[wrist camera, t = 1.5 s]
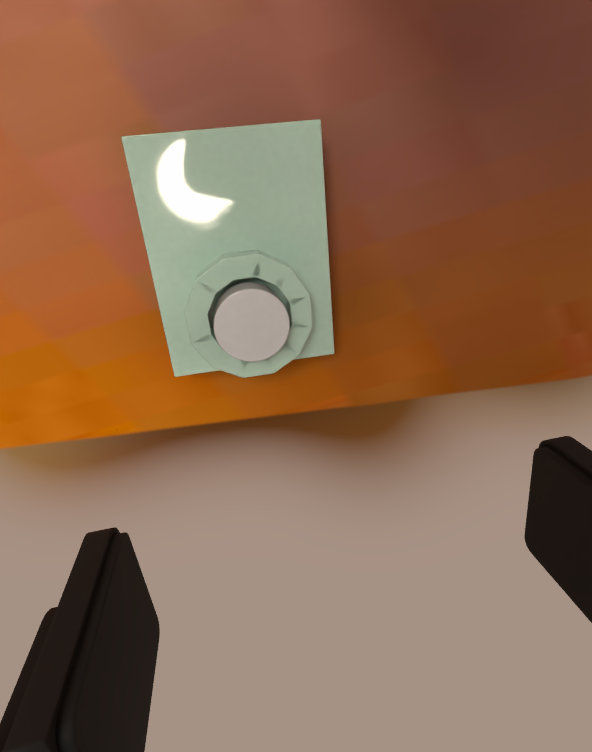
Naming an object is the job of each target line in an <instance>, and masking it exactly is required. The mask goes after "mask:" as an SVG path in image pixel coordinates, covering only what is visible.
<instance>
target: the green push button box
mask: <svg viewBox="0 0 592 752" xmlns="http://www.w3.org/2000/svg"><path fill="white" fill-rule="evenodd" d="M121 139H122V143H123V148H124V152H125V157H126V161H127V166H128V170H129V174H130V179H131V183H132V188H133V192H134V197H135V201H136V206H137V210H138V215H139V219H140V224H141V228H142V233H143V237H144V242H145V246H146V251H147V255H148V259H149V264H150V268H151V273H152V277H153V282H154V286H155V291H156V295H157V300H158V304H159V309H160V313H161V318H162V322H163V327H164V331H165V336H166V340H167V345H168V349H169V353H170V358H171V362H172V367H173V371H174V376H175V377H177V376H184V375H191V374H198V373H205V372H212V371H219V370H221V371H224V372H227V373H230V374H233V375H236V376H239V377H243V378H246V377H252V376H259V375H266V374H273V373H275V372H277V371H278V370H279V369H281V368H282V367H283V366H285V365H286V364H288V363H289V362H290V361H292V360H295V359H302V358H309V357H316V356H322V355H329V354H334V338H333V320H332V303H331V286H330V269H329V252H328V235H327V218H326V201H325V184H324V167H323V150H322V132H321V120H320V119H316V120H304V121H293V122H281V123H270V124H258V125H247V126H235V127H224V128H212V129H201V130H189V131H178V132H166V133H155V134H143V135H132V136H122V137H121ZM245 282H254V283H260V284H263V285H265V286H267V287H269V288H270V289H272V290H273V291H274V292H275V293H276V294H277V295H278V296H279V297H280V299H281V300H282V302H283V304H284V306H285V308H286V310H287V312H288V316H289V321H290V328H289V334H288V337H287V340H286V342H285V343H284V345H283V346H282V348H281V349H280V350H279V351H278V352H277V353H275V354H274V355H272V356H271V357H269V358H267V359H264V360H261V361H255V362H247V361H242V360H238V359H236V358H234V357H232V356H230V355H229V354H227V353H226V352H225V351H224V350H223V349H222V348H221V346H220V345H219V343H218V342H217V339H216V337H215V333H214V311H215V307H216V304H217V302H218V300H219V298H220V297H221V296H222V295H223V293H224V292H226V291H227V290H228V289H229V288H231V287H233V286H235V285H237V284H240V283H245Z"/></svg>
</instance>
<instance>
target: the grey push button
mask: <svg viewBox="0 0 592 752" xmlns="http://www.w3.org/2000/svg"><path fill="white" fill-rule="evenodd" d="M289 328H290V321H289V316H288V312H287V310H286V308H285V306H284V304H283V302H282V300H281V299H280V297H279V296H278V295H277V294H276V293H275V292H274V291H273V290H272V289H270V288H269V287H267V286H265V285H263V284H260V283H254V282H245V283H240V284H237V285H235V286H233V287H231V288H229V289H228V290H227V291H226V292H224V293H223V295H222V296H221V297H220V298H219V300H218V302H217V304H216V307H215V311H214V333H215V337H216V339H217V342H218V343H219V345H220V346H221V348H222V349H223V350H224V351H225V352H226V353H227V354H229V355H230V356H232V357H234V358H236V359H238V360H242V361H247V362H255V361H261V360H264V359H267V358H269V357H271V356H272V355H274V354H275V353H277V352H278V351H279V350H280V349H281V348H282V346H283V345H284V343H285V342H286V340H287V337H288V334H289Z"/></svg>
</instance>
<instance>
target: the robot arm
mask: <svg viewBox="0 0 592 752" xmlns="http://www.w3.org/2000/svg"><path fill="white" fill-rule="evenodd" d="M525 542H526V545H527V547H528V549H529V550H530V552H531V553H532V554H533V555H534V557H535V558H536V559H537V560H538V561H539V562H540V564H541V565H542V566H543V567H544V568H545V569H546V570H547V572H548V573H549V574H550V575H551V576H552V577H553V579H554V580H555V581H556V582H557V583H558V584H559V586H560V587H561V588H562V589H563V590H564V591H565V592H566V594H567V595H568V596H569V597H570V598H571V599H572V601H573V602H574V603H575V604H576V605H577V606H578V608H580V610H581V611H582V612H583V613H584V615H585V616H586V617H587V618H588V619H589V620H590V621H591V622H592V451H591V450H589V449H588V448H586V447H585V446H584V445H582V444H581V443H579V442H578V441H576V440H575V439H574V438H572V437H570V436H564V437H559V438H554V439H549V440H544V441H542V442H541V443H540V445H539V448H538V449H536V450H535V451H534V456H533V465H532V475H531V483H530V492H529V501H528V510H527V519H526V528H525ZM158 643H159V621H158V617H157V614H156V612H155V609H154V606H153V603H152V600H151V597H150V595H149V592H148V589H147V586H146V583H145V580H144V577H143V575H142V572H141V569H140V566H139V563H138V560H137V558H136V555H135V552H134V549H133V546H132V543H131V541H130V538H129V535H128V534H127V533H120V532H119V530H118V529H117V528H110V529H104V530H99V531H95V532H90V533H87V534H86V536H85V537H84V540H83V542H82V545H81V547H80V550H79V553H78V555H77V558H76V560H75V563H74V566H73V568H72V571H71V573H70V576H69V579H68V581H67V584H66V586H65V589H64V592H63V594H62V597H61V600H60V602H59V605H58V607H55V608H51V609H50V610H49V611H48V612H47V613H46V614H45V616H44V618H43V620H42V622H41V625H40V627H39V630H38V632H37V635H36V637H35V640H34V642H33V645H32V647H31V649H30V652H29V654H28V657H27V659H26V662H25V664H24V666H23V669H22V671H21V674H20V676H19V679H18V681H17V684H16V686H15V688H14V691H13V694H12V696H11V699H10V701H9V703H8V706H7V708H6V711H5V713H4V716H3V718H2V720H1V723H0V752H144V750H145V743H146V734H147V727H148V720H149V712H150V705H151V696H152V689H153V681H154V674H155V666H156V659H157V651H158Z"/></svg>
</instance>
